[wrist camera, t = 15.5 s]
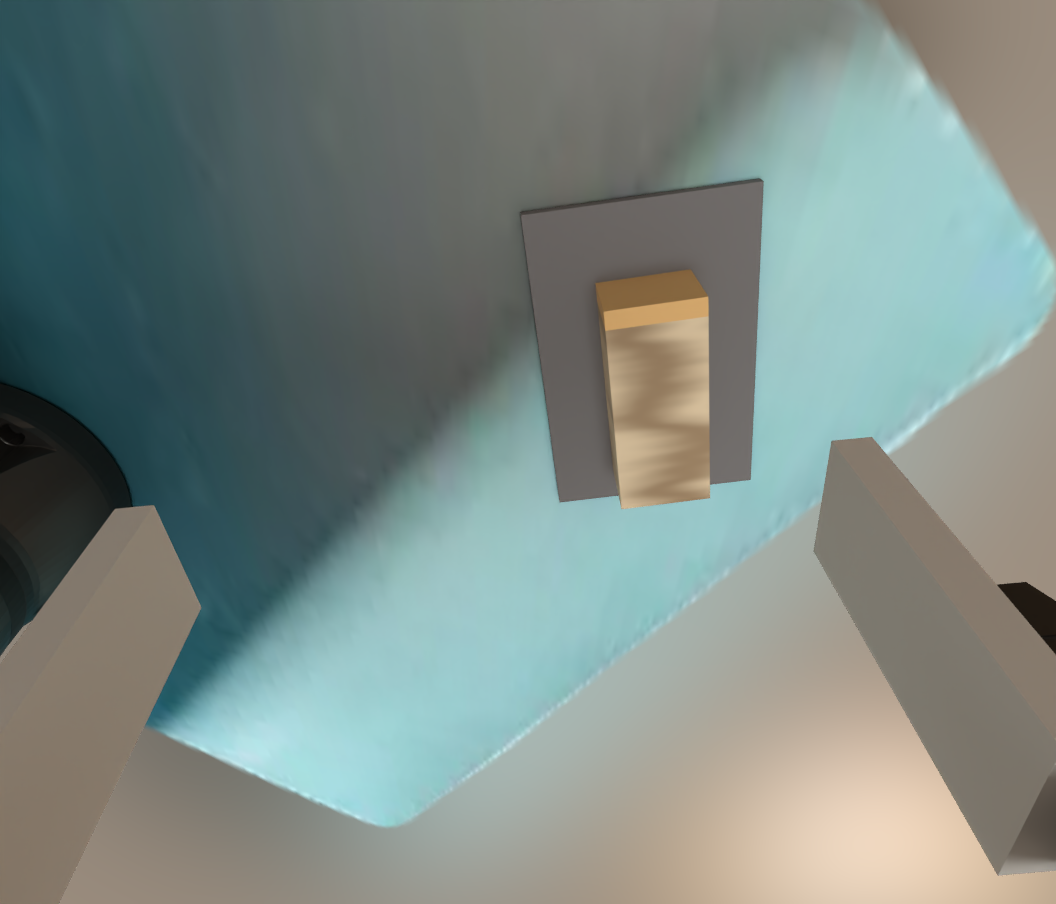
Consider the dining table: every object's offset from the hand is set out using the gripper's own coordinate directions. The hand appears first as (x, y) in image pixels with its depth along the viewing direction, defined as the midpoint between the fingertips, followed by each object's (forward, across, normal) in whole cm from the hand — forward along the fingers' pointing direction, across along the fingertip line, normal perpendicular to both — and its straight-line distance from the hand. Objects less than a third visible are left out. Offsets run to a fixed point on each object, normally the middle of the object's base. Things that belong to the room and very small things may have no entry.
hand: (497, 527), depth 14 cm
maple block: (+23, +8, -16) cm, 29 cm away
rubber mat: (+26, +8, -9) cm, 28 cm away
